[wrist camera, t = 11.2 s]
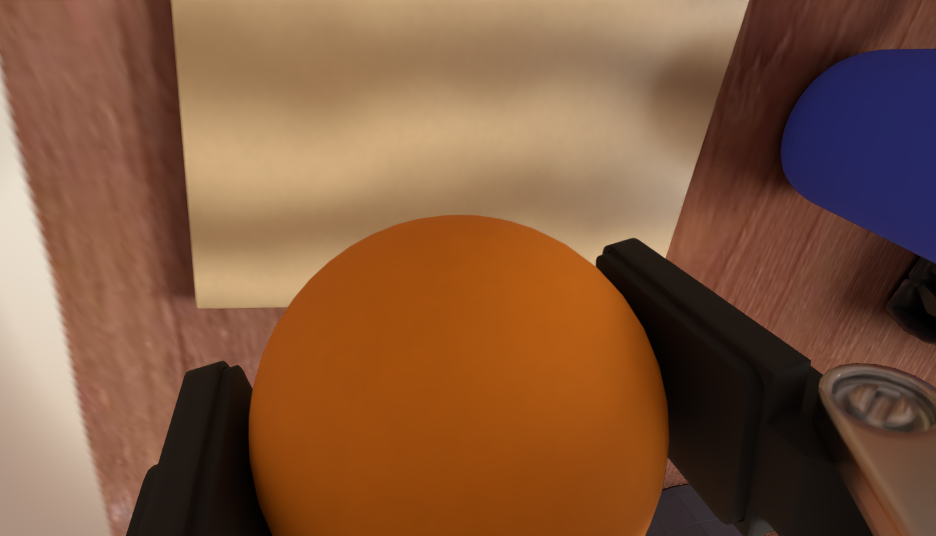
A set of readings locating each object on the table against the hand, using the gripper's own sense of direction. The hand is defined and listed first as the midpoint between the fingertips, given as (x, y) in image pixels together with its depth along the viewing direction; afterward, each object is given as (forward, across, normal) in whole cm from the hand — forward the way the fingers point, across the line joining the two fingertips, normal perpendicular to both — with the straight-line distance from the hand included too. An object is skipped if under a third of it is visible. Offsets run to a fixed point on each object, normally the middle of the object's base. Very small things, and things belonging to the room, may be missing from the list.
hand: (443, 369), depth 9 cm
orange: (-1, 0, 0) cm, 1 cm away
